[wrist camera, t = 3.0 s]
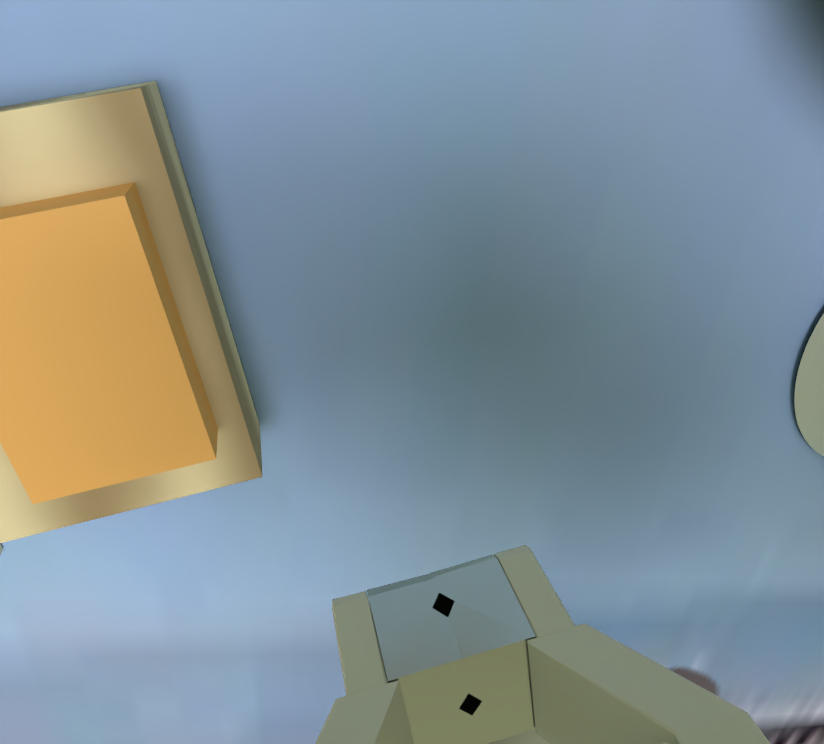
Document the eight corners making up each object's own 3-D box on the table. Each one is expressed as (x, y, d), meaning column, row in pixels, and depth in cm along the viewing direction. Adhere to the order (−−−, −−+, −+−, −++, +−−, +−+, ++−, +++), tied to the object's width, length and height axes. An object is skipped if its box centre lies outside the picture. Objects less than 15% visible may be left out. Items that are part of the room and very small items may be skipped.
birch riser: (155, 80, 23) (140, 87, 19) (259, 424, 29) (262, 476, 26) (-230, 146, 21) (-323, 167, 18) (-29, 494, 28) (-68, 560, 24)
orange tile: (134, 182, 20) (124, 195, 18) (218, 429, 24) (216, 459, 23) (-76, 222, 19) (-107, 239, 18) (48, 470, 24) (33, 504, 22)
